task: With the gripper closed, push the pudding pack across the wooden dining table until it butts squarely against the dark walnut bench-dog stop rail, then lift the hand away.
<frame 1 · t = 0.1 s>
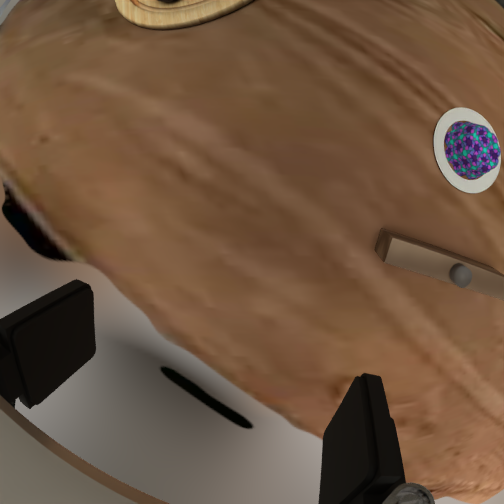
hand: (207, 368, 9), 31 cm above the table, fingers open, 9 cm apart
stop rail: (439, 259, 35), on the table
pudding: (466, 150, 31), on the table
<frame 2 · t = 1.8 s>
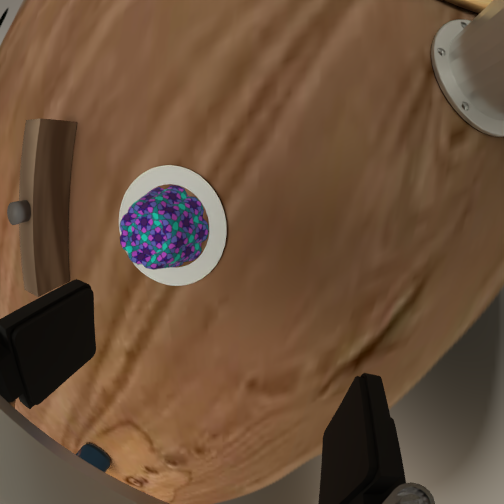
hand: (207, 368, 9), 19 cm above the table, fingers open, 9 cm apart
stop rail: (61, 203, 31), on the table
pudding: (171, 225, 29), on the table
soda can: (99, 451, 46), on the table
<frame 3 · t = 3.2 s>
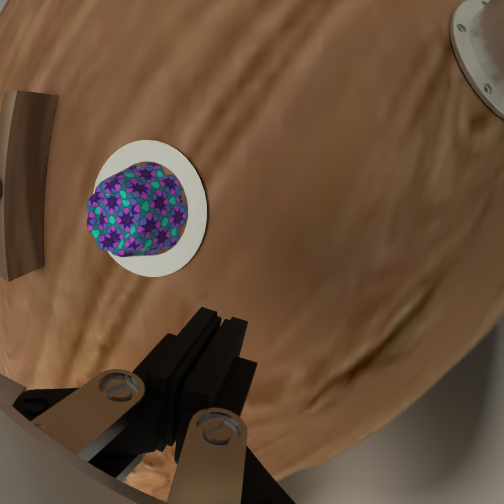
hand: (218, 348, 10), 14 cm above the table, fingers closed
stop rail: (38, 182, 27), on the table
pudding: (148, 208, 25), on the table
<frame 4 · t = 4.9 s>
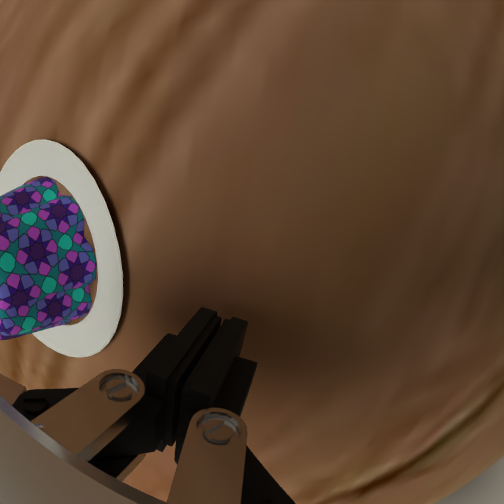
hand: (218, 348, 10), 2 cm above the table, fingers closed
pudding: (49, 251, 14), on the table
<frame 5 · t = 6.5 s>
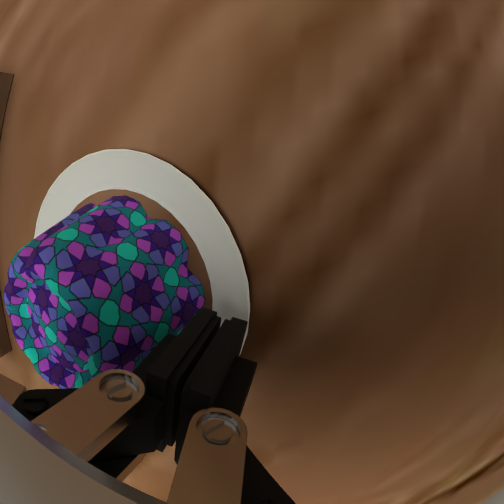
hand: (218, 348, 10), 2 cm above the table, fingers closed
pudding: (127, 283, 13), on the table
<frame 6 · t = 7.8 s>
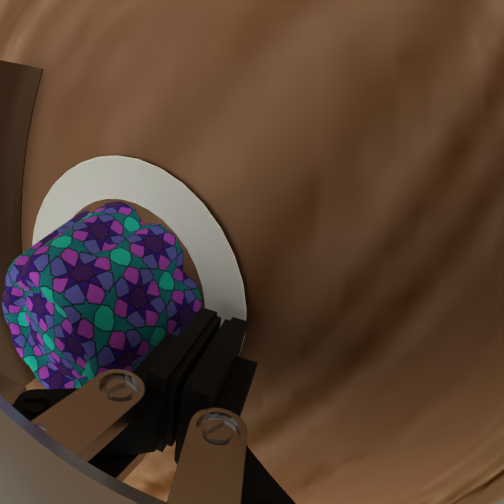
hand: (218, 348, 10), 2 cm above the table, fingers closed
stop rail: (8, 238, 14), on the table
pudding: (124, 289, 13), on the table
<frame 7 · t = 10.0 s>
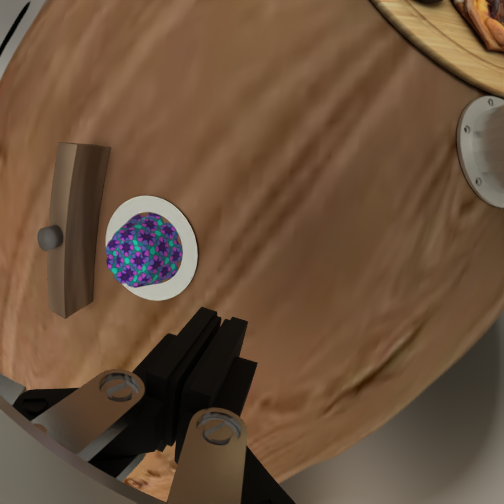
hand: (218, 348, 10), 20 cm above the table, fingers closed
stop rail: (88, 226, 33), on the table
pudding: (151, 248, 33), on the table
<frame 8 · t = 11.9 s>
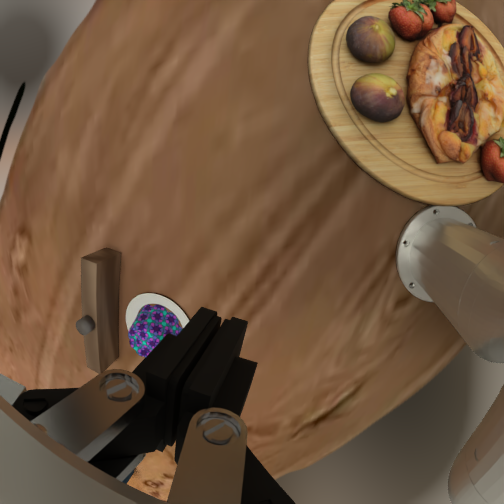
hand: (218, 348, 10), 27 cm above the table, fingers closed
wooden plate with food: (429, 82, 28), on the table
stop rail: (111, 307, 45), on the table
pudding: (160, 326, 44), on the table
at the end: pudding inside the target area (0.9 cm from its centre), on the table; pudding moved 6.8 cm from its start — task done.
